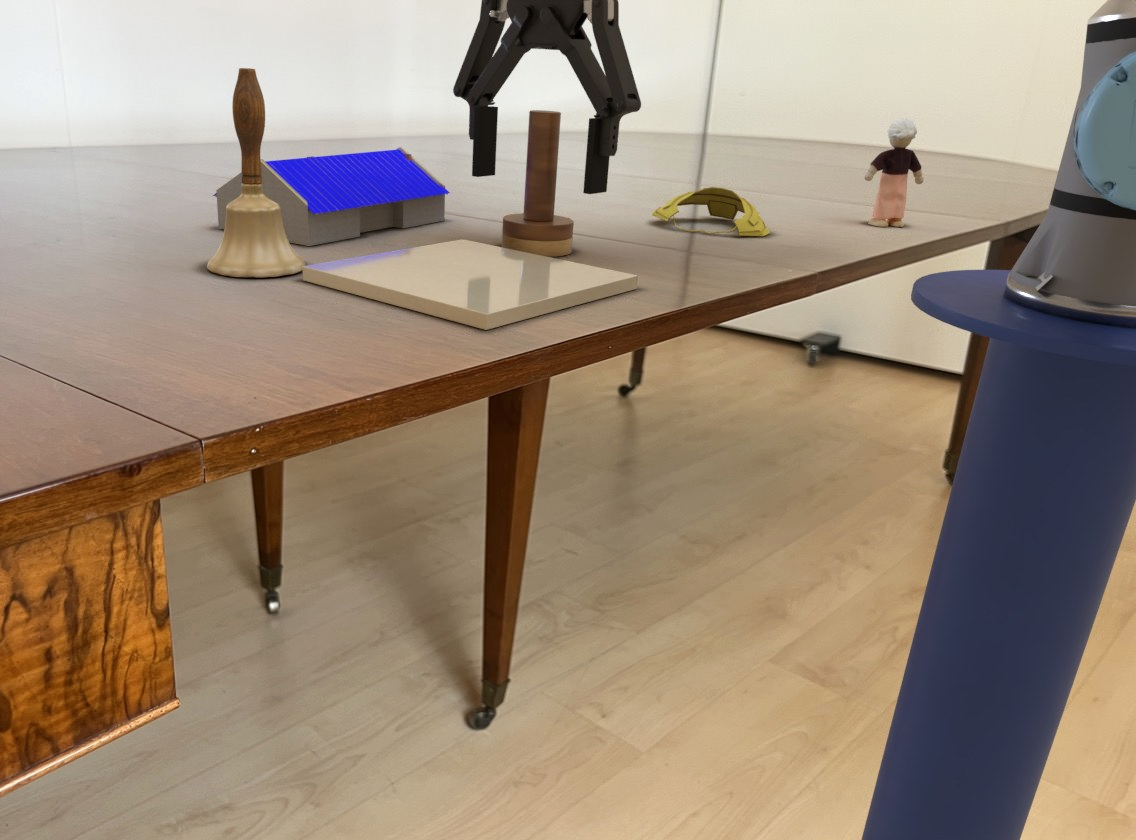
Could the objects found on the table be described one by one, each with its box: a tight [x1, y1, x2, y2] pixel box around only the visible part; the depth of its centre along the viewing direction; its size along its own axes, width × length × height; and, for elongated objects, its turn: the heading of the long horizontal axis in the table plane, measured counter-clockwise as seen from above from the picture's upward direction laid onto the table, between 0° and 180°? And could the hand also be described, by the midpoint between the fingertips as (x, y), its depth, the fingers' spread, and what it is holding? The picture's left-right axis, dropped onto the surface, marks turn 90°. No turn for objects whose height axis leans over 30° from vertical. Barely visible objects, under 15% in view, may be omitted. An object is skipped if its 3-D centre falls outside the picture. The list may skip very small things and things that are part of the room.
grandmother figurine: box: [863, 117, 925, 228], centre depth 122 cm, size 8×4×13 cm, turn 111°
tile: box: [302, 238, 638, 331], centre depth 84 cm, size 20×20×1 cm
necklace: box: [651, 186, 771, 238], centre depth 116 cm, size 13×13×4 cm
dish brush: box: [501, 109, 575, 258], centre depth 97 cm, size 7×7×13 cm
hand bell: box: [206, 67, 307, 278], centre depth 83 cm, size 8×8×16 cm
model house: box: [212, 146, 451, 247], centre depth 105 cm, size 22×14×7 cm, turn 146°
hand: (537, 184), depth 96 cm, fingers open, 13 cm apart
